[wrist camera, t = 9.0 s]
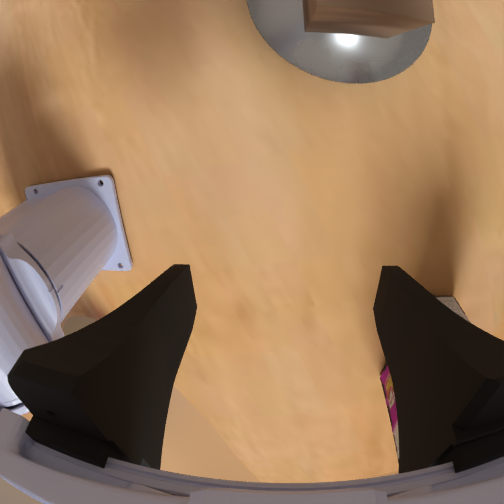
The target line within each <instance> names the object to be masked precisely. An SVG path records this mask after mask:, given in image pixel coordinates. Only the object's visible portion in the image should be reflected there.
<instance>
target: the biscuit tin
mask: <svg viewBox="0 0 504 504" xmlns="http://www.w3.org/2000/svg"><path fill="white" fill-rule="evenodd" d="M247 3H248V8H249V11H250V15H251V18H252V20H253V22H254V24H255V26H256V28H257V30H258V31H259V33H260V34H261V36H262V37H263V39H264V40H265V41H266V42H267V43H268V45H269V46H270V47H271V48H272V49H273V50H274V51H275V52H276V53H278V54H279V55H280V56H281V57H282V58H284V59H285V60H286V61H288V62H289V63H290V64H292V65H294V66H296V67H297V68H299V69H301V70H303V71H305V72H307V73H309V74H311V75H314V76H317V77H320V78H323V79H326V80H331V81H335V82H342V83H371V82H377V81H381V80H385V79H388V78H390V77H393V76H395V75H397V74H399V73H401V72H403V71H404V70H406V69H407V68H408V67H409V66H411V65H412V64H413V63H414V62H415V61H416V60H417V59H418V58H419V56H420V55H421V53H422V52H423V51H424V49H425V47H426V45H427V42H428V40H429V37H430V33H431V27H432V24H429V25H426V26H422V27H419V28H416V29H413V30H410V31H407V32H404V33H401V34H398V35H396V36H393V37H390V38H387V39H385V38H378V37H370V36H361V35H351V34H338V33H318V32H305V30H304V16H303V3H302V0H247Z"/></svg>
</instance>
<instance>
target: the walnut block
mask: <svg viewBox="0 0 504 504" xmlns="http://www.w3.org/2000/svg"><path fill="white" fill-rule="evenodd" d="M302 3H303V16H304V30H305V32H318V33H338V34H351V35H361V36H370V37H378V38H385V39H387V38H390V37H393V36H396V35H398V34H401V33H404V32H407V31H410V30H413V29H416V28H419V27H422V26H426V25H429V24H432V23H435V20H434V10H433V1H432V0H302Z"/></svg>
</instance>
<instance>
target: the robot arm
mask: <svg viewBox="0 0 504 504" xmlns="http://www.w3.org/2000/svg"><path fill="white" fill-rule="evenodd" d="M100 180H102V181H103V185H102V184H101V183H100ZM36 189H37V190H36ZM37 191H38V192H37ZM25 195H26V198H27V200H25V201H24V202H22V203H21V204H19V205H18V206H16V207H15V208H13V209H12V210H11V211H9V212H8V213H6V214H5V215H3V216H2V217H1V218H0V477H1V478H3V479H4V480H5V481H7V482H8V483H10V484H11V485H13V486H14V487H16V488H17V489H19V490H20V491H22V492H24V493H25V494H27V495H29V496H31V497H32V498H34V499H36V500H38V501H40V502H42V503H43V504H504V341H503V340H501V339H499V338H497V337H495V336H493V335H491V334H489V333H487V332H485V331H483V330H482V329H480V328H478V327H476V326H475V325H473V324H471V323H470V322H468V321H467V320H465V319H464V318H462V317H461V316H459V315H458V314H456V313H455V312H454V311H452V310H451V309H450V308H448V307H447V306H446V305H445V304H443V303H442V302H441V301H439V300H438V299H437V298H436V297H434V296H433V295H432V294H431V293H430V292H428V291H427V290H426V289H425V288H424V287H423V286H421V285H420V284H419V283H418V282H417V281H416V280H414V279H413V278H412V277H411V276H410V275H409V274H407V273H406V272H405V271H404V270H402V269H401V268H400V267H398V266H382V271H381V276H380V280H379V285H378V290H377V294H376V299H375V303H374V307H373V310H374V316H375V322H376V327H377V332H378V335H379V339H380V342H381V345H382V348H383V352H384V355H385V358H386V362H387V365H388V368H389V372H390V375H391V379H392V383H393V388H394V395H395V402H396V411H397V421H398V435H399V474H395V475H388V476H382V477H375V478H367V479H359V480H349V481H337V482H321V483H260V482H259V483H258V482H243V481H231V480H221V479H212V478H204V477H197V476H191V475H184V474H179V473H173V472H168V471H162V470H160V465H161V455H162V454H161V453H162V446H163V438H164V431H165V424H166V418H167V413H168V408H169V402H170V398H171V393H172V388H173V384H174V381H175V377H176V374H177V371H178V368H179V366H180V363H181V360H182V357H183V354H184V352H185V349H186V346H187V343H188V340H189V338H190V335H191V332H192V329H193V324H194V320H195V315H196V310H197V304H196V299H195V293H194V288H193V282H192V276H191V271H190V265H183V264H174V265H173V266H171V267H170V268H169V269H167V270H166V271H165V272H164V273H162V274H161V275H160V276H159V277H157V278H156V279H155V280H154V281H153V282H151V283H150V284H149V285H148V286H146V287H145V288H144V289H143V290H142V291H140V292H139V293H138V294H136V295H135V296H134V297H132V298H131V299H130V300H128V301H127V302H125V303H124V304H123V305H121V306H120V307H119V308H117V309H116V310H114V311H112V312H111V313H109V314H108V315H106V316H104V317H103V318H101V319H99V320H98V321H96V322H94V323H92V324H90V325H88V326H86V327H84V328H82V329H80V330H78V331H76V332H74V333H72V334H69V335H67V336H65V337H64V333H63V331H62V329H61V325H60V323H61V322H62V321H63V319H64V318H65V316H66V315H67V314H68V312H69V311H70V310H71V308H72V307H73V306H74V304H75V303H76V302H77V300H78V299H79V298H80V296H81V295H82V294H83V292H84V291H85V290H86V288H87V287H88V286H89V285H90V283H91V282H92V281H93V279H94V278H95V277H96V276H97V274H98V273H99V272H100V271H101V270H115V271H129V270H131V268H132V266H133V264H132V260H131V256H130V252H129V248H128V244H127V240H126V236H125V231H124V227H123V223H122V218H121V214H120V209H119V204H118V199H117V194H116V189H115V184H114V180H113V178H112V176H110V175H100V176H92V177H84V178H77V179H70V180H63V181H57V182H50V183H44V184H38V185H32V186H29V187H27V188H26V189H25ZM120 263H121V264H122V265H123V266H121V265H120ZM28 412H31V413H32V414H33V417H32V419H31V421H28V420H27V419H26V418H24V417H22V416H21V415H23V414H25V413H28Z"/></svg>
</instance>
